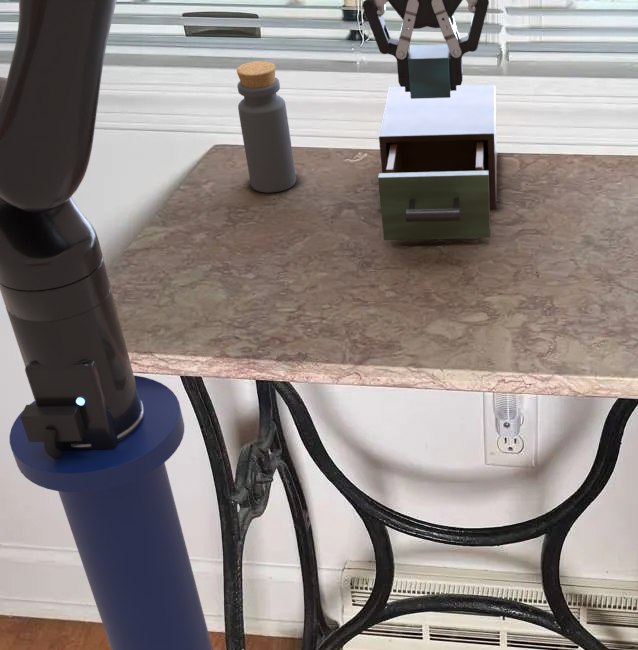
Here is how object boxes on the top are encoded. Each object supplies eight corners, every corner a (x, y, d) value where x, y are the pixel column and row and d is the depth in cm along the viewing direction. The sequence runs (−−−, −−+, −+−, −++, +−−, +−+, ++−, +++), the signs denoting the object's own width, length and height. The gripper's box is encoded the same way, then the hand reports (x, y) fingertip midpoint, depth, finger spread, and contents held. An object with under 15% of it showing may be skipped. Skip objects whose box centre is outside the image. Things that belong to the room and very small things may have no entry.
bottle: (282, 169, 156) (265, 55, 147) (304, 184, 152) (288, 68, 143) (242, 182, 154) (223, 67, 144) (264, 197, 150) (245, 80, 140)
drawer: (489, 255, 134) (487, 191, 129) (380, 258, 134) (374, 194, 130) (491, 183, 149) (489, 123, 144) (393, 185, 149) (387, 125, 144)
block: (451, 82, 134) (449, 43, 131) (450, 97, 131) (448, 57, 128) (413, 84, 134) (410, 44, 132) (410, 98, 131) (407, 59, 128)
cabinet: (496, 208, 145) (494, 133, 139) (385, 211, 146) (378, 136, 139) (496, 155, 157) (495, 83, 151) (394, 157, 158) (388, 86, 152)
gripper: (348, -63, 119) (364, 103, 130) (490, -68, 118) (495, 100, 129) (355, -83, 125) (370, 78, 136) (491, -87, 124) (495, 74, 135)
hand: (431, 88), depth 132 cm, fingers closed on block, 4 cm apart
